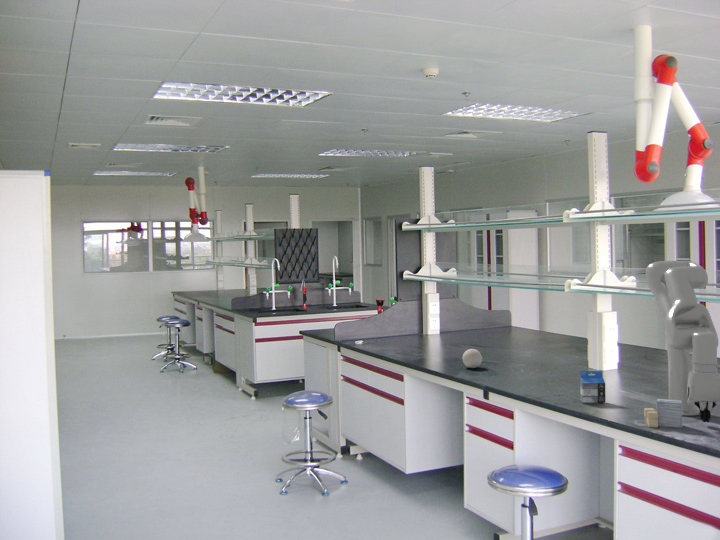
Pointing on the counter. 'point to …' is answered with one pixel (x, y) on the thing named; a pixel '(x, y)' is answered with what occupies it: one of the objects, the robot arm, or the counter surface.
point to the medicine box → (669, 413)
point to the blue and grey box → (592, 387)
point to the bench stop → (650, 417)
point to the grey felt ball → (472, 358)
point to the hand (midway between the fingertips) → (704, 421)
